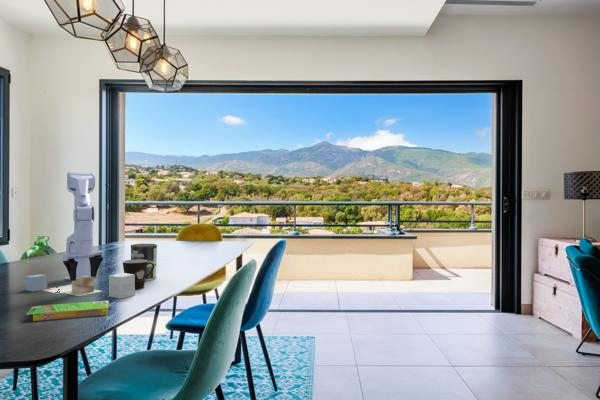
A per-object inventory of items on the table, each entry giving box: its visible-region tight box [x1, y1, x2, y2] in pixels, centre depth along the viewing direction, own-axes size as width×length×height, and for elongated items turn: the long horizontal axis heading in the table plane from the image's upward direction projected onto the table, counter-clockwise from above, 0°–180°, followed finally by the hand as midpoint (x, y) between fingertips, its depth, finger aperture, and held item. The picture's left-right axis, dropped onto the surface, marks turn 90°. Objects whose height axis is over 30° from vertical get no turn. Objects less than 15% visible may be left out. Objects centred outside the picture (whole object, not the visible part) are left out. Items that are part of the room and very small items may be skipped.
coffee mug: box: [122, 259, 154, 291], centre depth 158 cm, size 12×9×10 cm
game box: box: [25, 300, 110, 322], centre depth 122 cm, size 3×10×20 cm
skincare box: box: [108, 272, 136, 299], centre depth 144 cm, size 6×6×7 cm
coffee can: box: [130, 243, 158, 282], centre depth 174 cm, size 10×10×14 cm
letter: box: [42, 284, 72, 294], centre depth 154 cm, size 13×10×1 cm
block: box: [71, 276, 95, 294], centre depth 149 cm, size 5×5×5 cm
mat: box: [64, 288, 104, 297], centre depth 148 cm, size 9×9×1 cm
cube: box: [24, 273, 48, 292], centre depth 152 cm, size 5×5×5 cm
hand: (83, 278), depth 149 cm, fingers open, 7 cm apart
